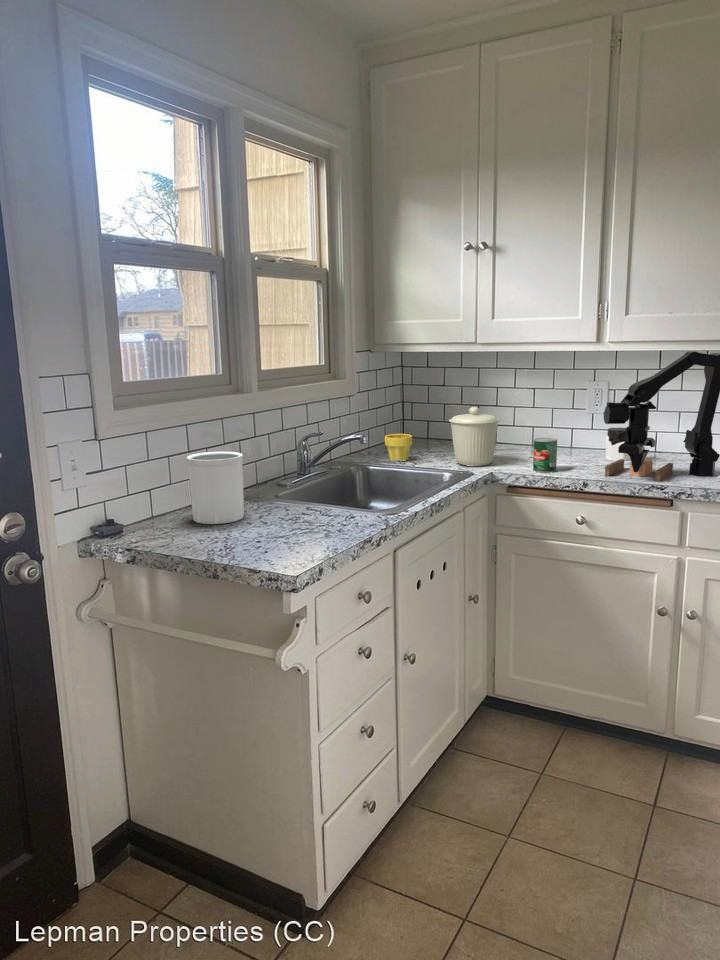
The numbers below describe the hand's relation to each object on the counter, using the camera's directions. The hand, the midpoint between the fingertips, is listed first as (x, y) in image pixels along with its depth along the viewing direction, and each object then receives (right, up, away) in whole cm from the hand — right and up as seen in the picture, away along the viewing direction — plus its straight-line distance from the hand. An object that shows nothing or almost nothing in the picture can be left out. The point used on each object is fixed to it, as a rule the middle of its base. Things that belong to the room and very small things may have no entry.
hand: (635, 472), depth 231 cm
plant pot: (-73, +5, +46) cm, 86 cm away
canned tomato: (-24, +1, +20) cm, 31 cm away
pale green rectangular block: (+7, +1, +9) cm, 11 cm away
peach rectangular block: (+4, 0, +5) cm, 6 cm away
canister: (-46, +3, +35) cm, 58 cm away
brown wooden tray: (+2, -2, +3) cm, 4 cm away
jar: (+6, +4, +32) cm, 33 cm away
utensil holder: (-127, -13, -32) cm, 131 cm away
